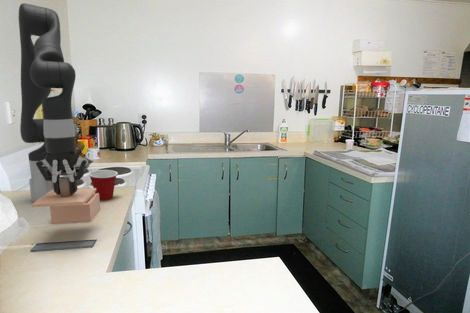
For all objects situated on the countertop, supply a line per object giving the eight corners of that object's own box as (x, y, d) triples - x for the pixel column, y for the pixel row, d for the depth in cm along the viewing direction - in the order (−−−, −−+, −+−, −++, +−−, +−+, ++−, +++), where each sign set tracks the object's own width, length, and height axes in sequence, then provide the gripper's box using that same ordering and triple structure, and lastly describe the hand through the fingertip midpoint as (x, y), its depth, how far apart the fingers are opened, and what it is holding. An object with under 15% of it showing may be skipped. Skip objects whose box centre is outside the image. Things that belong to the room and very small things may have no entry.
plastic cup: (109, 206, 117) (107, 176, 115) (85, 204, 119) (82, 174, 117) (124, 197, 128) (122, 170, 126) (102, 195, 130) (99, 168, 128)
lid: (31, 207, 81) (28, 184, 79) (52, 192, 93) (49, 172, 92) (83, 204, 83) (81, 182, 82) (96, 190, 95) (94, 171, 94)
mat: (30, 251, 82) (30, 249, 82) (51, 230, 96) (51, 228, 96) (92, 247, 85) (92, 245, 85) (104, 226, 99) (104, 225, 98)
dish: (52, 226, 99) (49, 206, 97) (65, 212, 110) (64, 194, 109) (91, 224, 101) (89, 204, 99) (100, 211, 112) (99, 193, 111)
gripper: (90, 133, 89) (95, 188, 93) (38, 134, 87) (45, 191, 90) (82, 136, 82) (88, 196, 85) (25, 137, 80) (33, 199, 83)
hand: (66, 193), depth 88 cm, fingers closed on lid, 3 cm apart
